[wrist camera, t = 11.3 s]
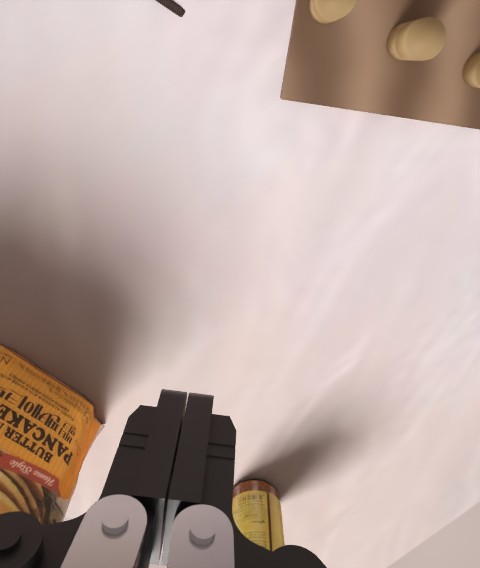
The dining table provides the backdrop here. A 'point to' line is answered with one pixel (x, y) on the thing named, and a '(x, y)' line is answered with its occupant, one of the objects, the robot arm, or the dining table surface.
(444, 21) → the board
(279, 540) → the sauce bottle
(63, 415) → the pancake mix bag
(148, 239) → the dining table surface
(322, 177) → the dining table surface
